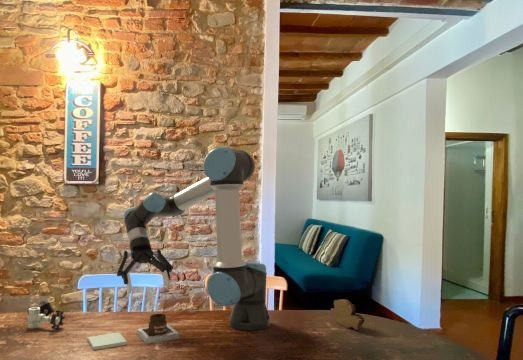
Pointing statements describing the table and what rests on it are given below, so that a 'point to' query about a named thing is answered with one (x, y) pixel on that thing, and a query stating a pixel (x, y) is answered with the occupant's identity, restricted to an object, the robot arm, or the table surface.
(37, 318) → the valve
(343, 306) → the wooden carving
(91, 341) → the green tile
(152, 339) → the grey square frame
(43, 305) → the lighter
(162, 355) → the table surface
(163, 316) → the utensil holder
